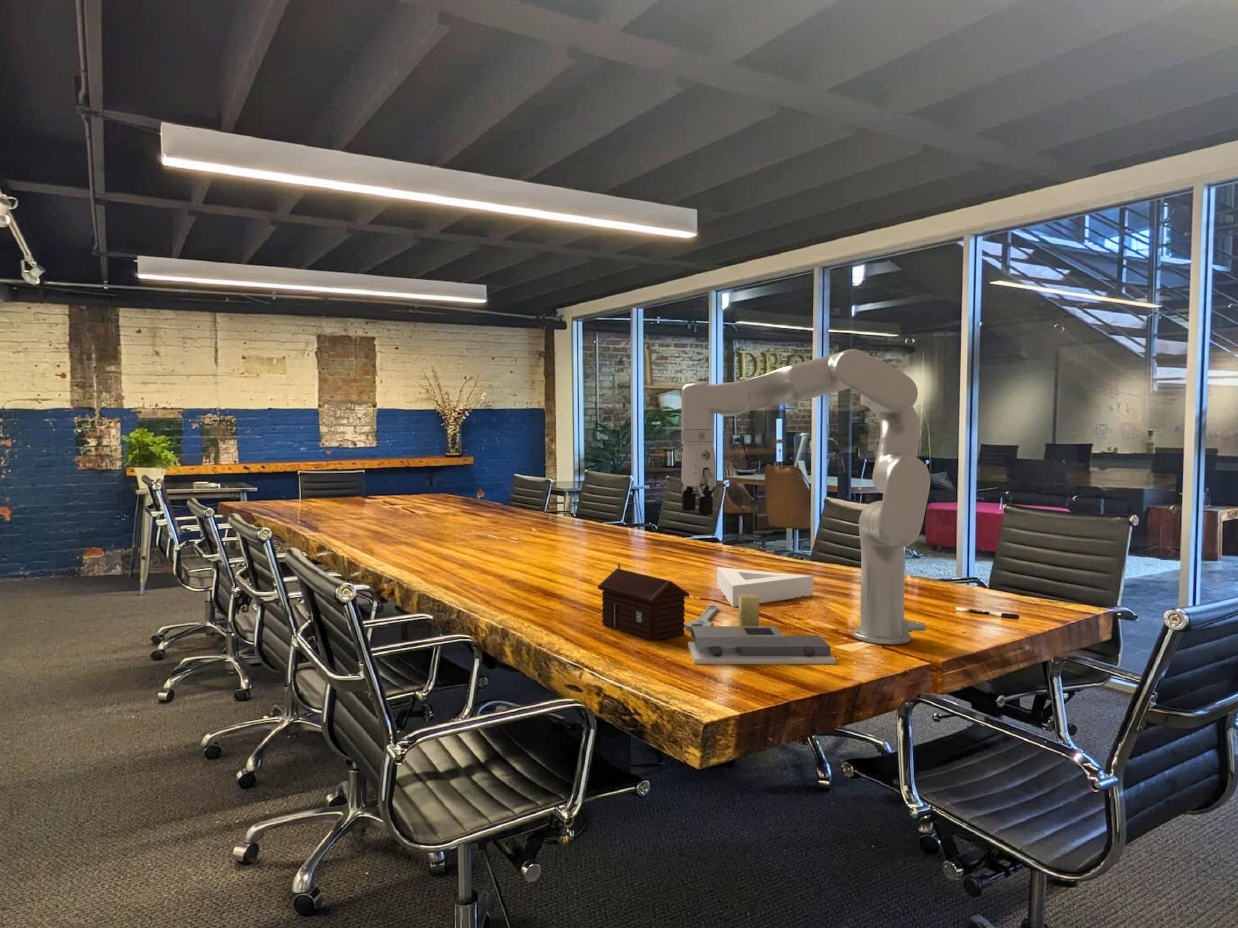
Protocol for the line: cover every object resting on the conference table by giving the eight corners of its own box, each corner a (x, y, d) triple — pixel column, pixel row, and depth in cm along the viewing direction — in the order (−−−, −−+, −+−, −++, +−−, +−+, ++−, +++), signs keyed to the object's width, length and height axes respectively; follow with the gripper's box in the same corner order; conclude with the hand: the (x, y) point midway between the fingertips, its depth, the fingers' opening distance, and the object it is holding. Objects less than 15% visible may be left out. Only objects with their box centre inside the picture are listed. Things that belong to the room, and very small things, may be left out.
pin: (755, 636, 177) (755, 594, 177) (758, 641, 173) (759, 597, 173) (738, 636, 177) (738, 594, 177) (741, 641, 173) (741, 597, 173)
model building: (597, 624, 189) (598, 564, 188) (634, 618, 196) (634, 560, 195) (651, 642, 173) (651, 576, 172) (689, 635, 179) (689, 571, 179)
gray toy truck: (818, 643, 168) (818, 625, 168) (831, 656, 158) (831, 637, 158) (690, 643, 168) (690, 625, 168) (695, 656, 158) (695, 637, 158)
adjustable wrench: (709, 610, 206) (709, 604, 206) (732, 612, 204) (732, 606, 204) (682, 631, 183) (682, 624, 183) (708, 634, 181) (708, 627, 181)
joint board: (818, 646, 170) (818, 641, 170) (835, 663, 157) (835, 658, 157) (687, 646, 169) (687, 641, 169) (694, 663, 156) (694, 658, 156)
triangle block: (732, 608, 209) (732, 585, 208) (677, 592, 231) (677, 571, 231) (812, 597, 224) (813, 575, 224) (754, 582, 246) (754, 563, 246)
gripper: (729, 438, 167) (728, 516, 168) (698, 437, 184) (697, 508, 184) (697, 437, 165) (696, 516, 166) (668, 437, 182) (668, 509, 182)
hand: (696, 512), depth 175 cm, fingers open, 9 cm apart
